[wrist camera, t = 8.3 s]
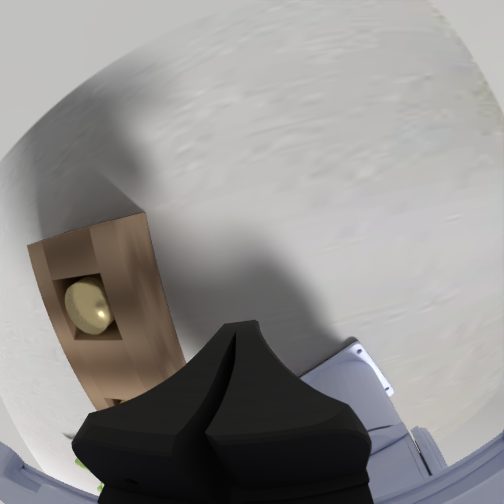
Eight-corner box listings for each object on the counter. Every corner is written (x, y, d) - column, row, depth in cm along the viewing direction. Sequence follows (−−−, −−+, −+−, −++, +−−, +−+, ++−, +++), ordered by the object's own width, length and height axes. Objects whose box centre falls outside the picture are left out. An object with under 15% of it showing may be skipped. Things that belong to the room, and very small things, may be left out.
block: (208, 421, 25) (201, 456, 20) (136, 417, 25) (122, 447, 20) (145, 212, 20) (113, 221, 15) (63, 233, 20) (27, 245, 15)
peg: (141, 305, 21) (115, 334, 17) (104, 308, 22) (76, 334, 17) (128, 260, 20) (96, 280, 16) (91, 266, 21) (58, 286, 16)
